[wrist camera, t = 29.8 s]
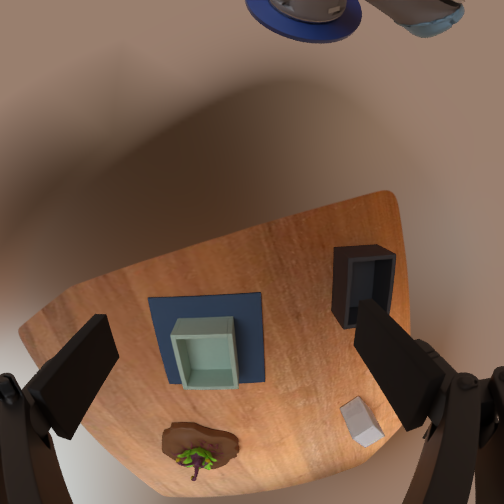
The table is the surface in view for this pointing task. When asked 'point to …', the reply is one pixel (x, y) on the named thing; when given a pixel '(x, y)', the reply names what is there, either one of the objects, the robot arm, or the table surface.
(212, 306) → the mat
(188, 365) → the green open bin
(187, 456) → the plant
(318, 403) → the table surface
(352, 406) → the small box
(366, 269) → the bin lower
